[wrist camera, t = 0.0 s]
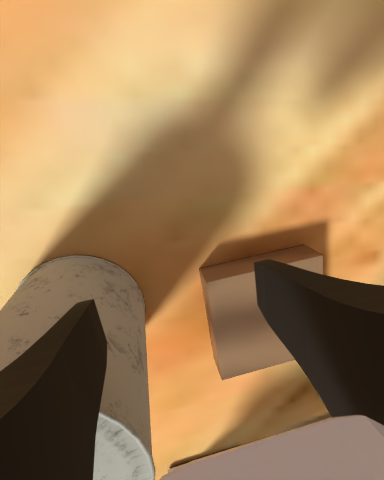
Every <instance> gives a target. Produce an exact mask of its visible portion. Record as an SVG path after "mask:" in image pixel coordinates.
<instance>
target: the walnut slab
mask: <svg viewBox="0 0 384 480" xmlns="http://www.w3.org/2000/svg"><path fill="white" fill-rule="evenodd" d="M266 259H270V260H274V261H278V262H282V263H285V264H288V265H291V266H295V267H298V268H301V269H304V270H308V271H311V272H315V273H318V274H322V275H323V255H322V254H320V253H318V252H316V251H315V250H313V249H311V248H309V247H308V246H306V245H301V246H296V247H292V248H287V249H283V250H279V251H274V252H270V253H265V254H261V255H257V256H252V257H248V258H243V259H239V260H235V261H230V262H226V263H221V264H217V265H213V266H208V267H204V268H199V270H200V276H201V282H202V288H203V294H204V300H205V306H206V313H207V319H208V325H209V331H210V337H211V343H212V349H213V355H214V360H215V363H216V365H217V368H218V371H219V373H220V376H221V379H222V380H225V379H228V378H232V377H235V376H239V375H242V374H246V373H250V372H253V371H257V370H260V369H264V368H267V367H271V366H275V365H278V364H282V363H285V362H289V361H292V360H295V359H294V357H293V356H292V355H291V353H290V352H289V351H288V350H287V348H286V347H285V346H284V344H283V343H282V342H281V340H280V339H279V338H278V337H277V335H276V334H275V333H274V331H273V330H272V329H271V327H270V326H269V325H268V323H267V321H266V319H265V318H264V316H263V314H262V312H261V311H260V309H259V307H258V305H257V294H256V283H255V271H254V262H257V261H262V260H266Z"/></svg>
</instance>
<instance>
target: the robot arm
mask: <svg viewBox="0 0 384 480" xmlns="http://www.w3.org/2000/svg"><path fill="white" fill-rule="evenodd" d="M254 271H255V283H256V294H257V305H258V307H259V309H260V311H261V312H262V314H263V316H264V318H265V319H266V321H267V323H268V325H269V326H270V327H271V329H272V330H273V331H274V333H275V334H276V335H277V337H278V338H279V339H280V340H281V342H282V343H283V344H284V346H285V347H286V348H287V350H288V351H289V352H290V353H291V355H292V356H293V357H294V359H295V360H296V361H297V362H298V364H299V365H300V366H301V368H302V369H303V371H304V372H305V374H306V375H307V376H308V378H309V380H310V381H311V383H312V384H313V386H314V388H315V389H316V391H317V393H318V394H319V396H320V397H321V399H322V401H323V402H324V404H325V406H326V408H327V409H328V411H329V413H330V414H331V416H332V418H328V419H325V420H322V421H318V422H315V423H312V424H309V425H306V426H302V427H299V428H296V429H293V430H289V431H286V432H283V433H280V434H277V435H273V436H270V437H267V438H264V439H260V440H257V441H254V442H251V443H248V444H244V445H241V446H238V447H235V448H232V449H228V450H225V451H222V452H219V453H216V454H212V455H209V456H206V457H203V458H200V459H196V460H193V461H191V462H189V463H186V464H183V465H180V466H176V467H173V468H171V469H169V470H168V474H166V475H164V476H162V477H161V479H160V480H384V286H381V285H373V284H365V283H360V282H354V281H348V280H343V279H338V278H334V277H330V276H326V275H322V274H318V273H315V272H311V271H308V270H304V269H301V268H298V267H295V266H291V265H288V264H285V263H282V262H278V261H274V260H270V259H266V260H262V261H257V262H254ZM106 367H107V339H106V336H105V333H104V330H103V327H102V324H101V320H100V317H99V314H98V311H97V308H96V304H95V301H94V299H91V300H86V301H82V302H78V303H76V304H75V305H74V306H73V307H72V308H71V309H70V310H69V311H68V312H66V313H65V314H64V315H63V316H62V317H61V318H60V319H59V320H58V321H57V322H56V323H55V324H54V325H53V326H52V327H51V328H50V329H49V330H48V331H47V332H46V333H45V334H44V335H43V336H42V337H41V338H40V339H38V340H37V341H36V342H35V343H34V344H33V345H32V346H31V347H30V348H28V349H27V350H26V351H25V352H24V353H23V354H22V355H20V356H19V357H18V358H17V359H15V360H14V361H13V362H12V363H10V364H9V365H8V366H6V367H5V368H4V369H3V370H1V371H0V480H93V471H94V455H95V439H96V430H97V422H98V416H99V410H100V404H101V398H102V392H103V386H104V380H105V374H106Z"/></svg>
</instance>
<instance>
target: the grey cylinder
mask: <svg viewBox="0 0 384 480" xmlns="http://www.w3.org/2000/svg"><path fill="white" fill-rule="evenodd" d="M91 299H94V301H95V304H96V308H97V311H98V314H99V317H100V320H101V324H102V327H103V330H104V333H105V336H106V339H107V367H106V374H105V380H104V386H103V392H102V398H101V404H100V410H99V416H98V422H97V430H96V439H95V455H94V471H93V480H155V466H154V462H153V457H152V446H151V427H150V409H149V390H148V371H147V352H146V334H145V303H144V298H143V295H142V292H141V290H140V288H139V286H138V284H137V283H136V282H135V281H134V279H133V278H132V277H131V276H130V275H129V274H128V273H127V272H126V271H124V270H123V269H122V268H120V267H119V266H118V265H115V264H113V263H111V262H109V261H107V260H105V259H101V258H96V257H92V256H78V255H72V256H67V257H61V258H56V259H54V260H51V261H49V262H46V263H44V264H42V265H40V266H39V267H37V268H36V269H34V270H33V271H31V272H30V273H29V274H28V275H27V277H26V278H25V279H24V280H23V281H22V282H21V283H20V285H19V287H18V289H17V290H16V292H15V293H14V294H13V295H12V297H11V298H10V299H9V300H8V302H7V303H6V304H5V305H4V307H3V308H2V309H1V310H0V371H1V370H3V369H4V368H5V367H6V366H8V365H9V364H10V363H12V362H13V361H14V360H15V359H17V358H18V357H19V356H20V355H22V354H23V353H24V352H25V351H26V350H27V349H28V348H30V347H31V346H32V345H33V344H34V343H35V342H36V341H37V340H38V339H40V338H41V337H42V336H43V335H44V334H45V333H46V332H47V331H48V330H49V329H50V328H51V327H52V326H53V325H54V324H55V323H56V322H57V321H58V320H59V319H60V318H61V317H62V316H63V315H64V314H65V313H66V312H68V311H69V310H70V309H71V308H72V307H73V306H74V305H75V304H76V303H78V302H82V301H86V300H91Z"/></svg>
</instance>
